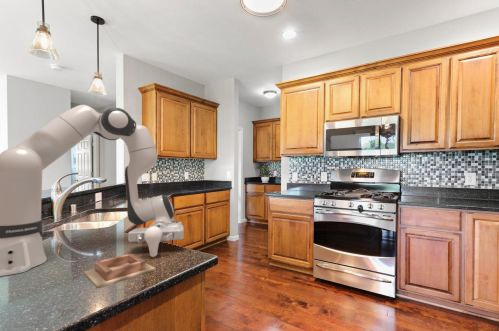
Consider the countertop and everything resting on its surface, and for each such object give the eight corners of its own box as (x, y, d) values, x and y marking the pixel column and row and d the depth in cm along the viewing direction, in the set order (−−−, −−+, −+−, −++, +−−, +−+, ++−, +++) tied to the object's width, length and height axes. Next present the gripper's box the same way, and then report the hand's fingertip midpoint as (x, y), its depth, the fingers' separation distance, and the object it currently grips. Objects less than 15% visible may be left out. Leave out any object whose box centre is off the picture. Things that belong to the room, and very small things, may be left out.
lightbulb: (144, 261, 86) (144, 229, 86) (144, 255, 91) (144, 225, 91) (163, 258, 88) (163, 227, 88) (161, 253, 94) (161, 224, 94)
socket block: (97, 288, 66) (97, 276, 66) (83, 273, 76) (83, 263, 76) (155, 270, 78) (155, 260, 78) (137, 259, 87) (137, 250, 87)
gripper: (133, 223, 101) (121, 232, 87) (185, 221, 104) (181, 229, 90) (133, 239, 101) (121, 250, 87) (185, 236, 104) (181, 246, 90)
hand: (152, 239), depth 89 cm, fingers open, 8 cm apart
